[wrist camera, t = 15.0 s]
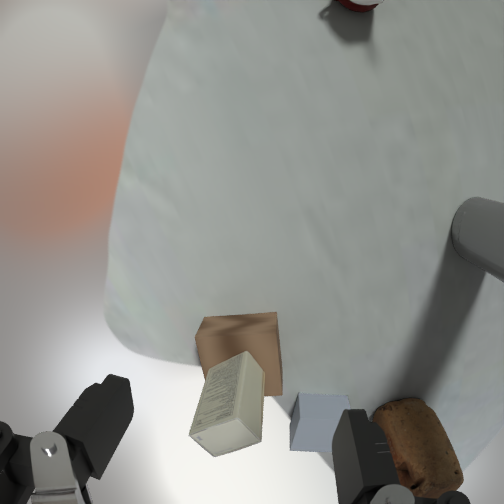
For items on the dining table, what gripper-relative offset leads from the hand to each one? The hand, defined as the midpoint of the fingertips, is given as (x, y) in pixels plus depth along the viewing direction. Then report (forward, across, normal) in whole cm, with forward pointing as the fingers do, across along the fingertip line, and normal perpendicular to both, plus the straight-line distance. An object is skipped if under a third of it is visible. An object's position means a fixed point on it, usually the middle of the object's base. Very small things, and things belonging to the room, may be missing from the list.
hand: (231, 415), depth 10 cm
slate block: (+30, -12, +28) cm, 43 cm away
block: (+30, -27, +28) cm, 49 cm away
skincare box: (+25, +2, +16) cm, 30 cm away
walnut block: (+30, +1, +16) cm, 35 cm away
